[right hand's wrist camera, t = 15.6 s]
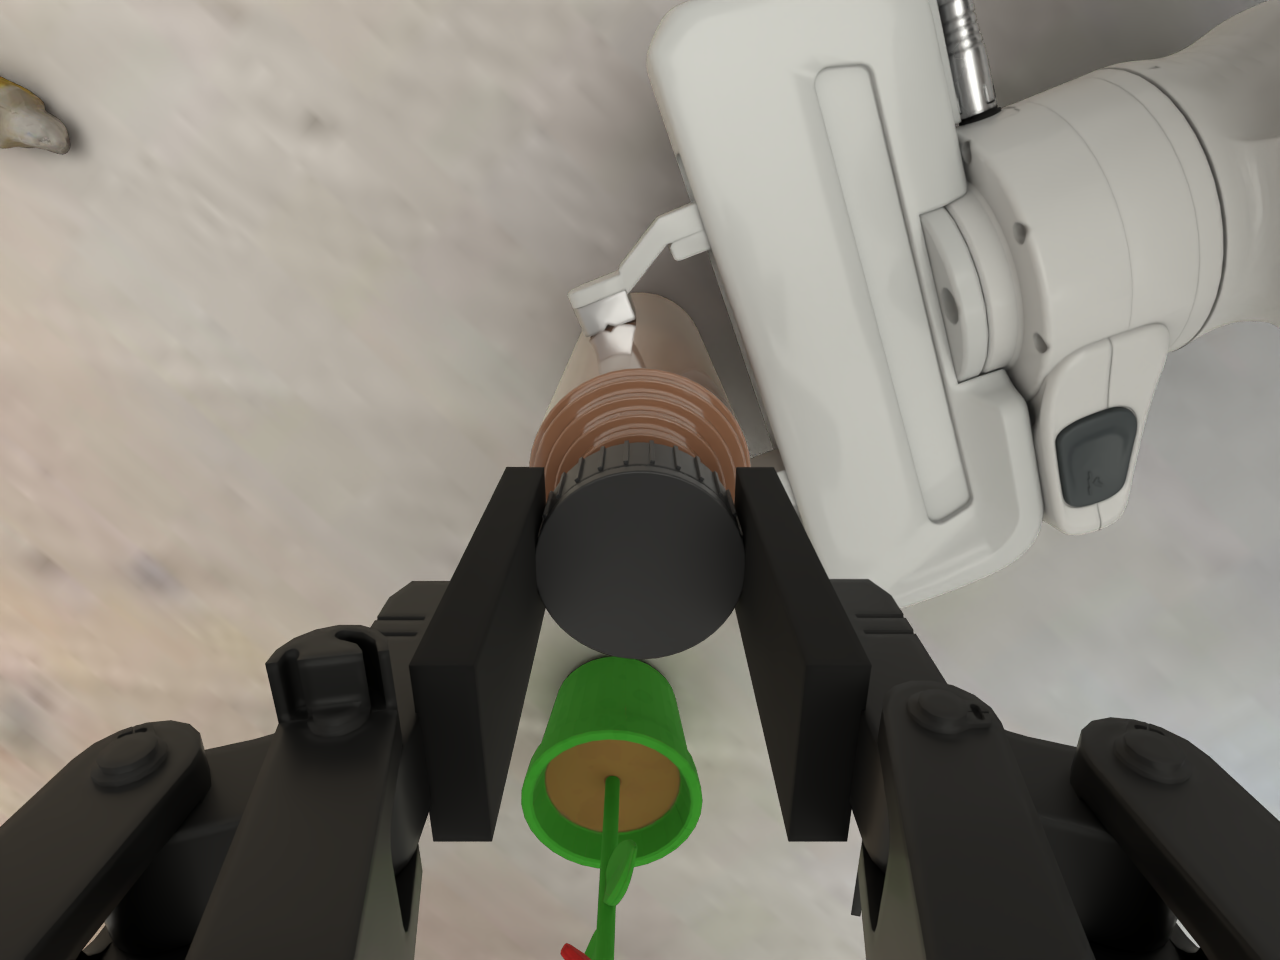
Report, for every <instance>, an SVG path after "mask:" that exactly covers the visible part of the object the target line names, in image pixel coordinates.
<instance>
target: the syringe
mask: <svg viewBox="0 0 1280 960" xmlns="http://www.w3.org/2000/svg"><path fill="white" fill-rule="evenodd" d="M12 147H25V148H34V147H36V148H41V149H46V150H49V151H51V152H54V153H57V154H66V153H67V152H68V150H69V148H70V139H69V136H68V132H67V129H66V127H65V126H64V124H63V123H62V122H61V121H60V120H59V119H58V118H56V117H55V116H53V115H51V114H50V113H48V112H46V111H45V108H44V103H43V101H42V100H41V99H40V98H38V97H37V96H36V95H35V94H33V93H32V92H30V91H29V90H28V89H26V88H24V87H22V86H20V85H17V84H15V83H13V82H11V81H9V80H7V79H5V78H2V77H0V148H12Z"/></svg>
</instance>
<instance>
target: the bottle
mask: <svg viewBox="0 0 1280 960" xmlns="http://www.w3.org/2000/svg"><path fill="white" fill-rule="evenodd" d="M630 296H631V299H632V301H633V304H634V307H635V310H636V314H635V315H636V319H634V320H632V321H629V322H627V323H624V324H621V325H617V326H612V325H607V327H606V328H605V330H604V331H602V332H600V333H598V334H596V335H593V336H590V337H585V335H584V333H583V331H581V334H580V336H579V338H578V341H577V343H576V345H575V347H574V350H573V352H572V354H571V357H570V359H569V361H568V363H567V366H566V368H565V370H564V373H563V375H562V377H561V380H560V382H559V384H558V386H557V389H556V391H555V393H554V396H553V398H552V400H551V402H550V405H549V407H548V409H547V412H546V414H545V416H544V419H543V421H542V423H541V425H540V428H539V430H538V432H537V435H536V437H535V440H534V444H533V447H532V451H531V457H530V463H529V467H544V472H545V491H546V502H547V499H548V496H549V493H550V491H553V492H554V490H555V488H556V487H557V485H558V484H559V482H560V479H561V475H562V474H563V472H565V473H566V474H567V472H568V471H569V470H571V469H572V468H573V467H574V466H575V465H576V464H577V463H578V461H579V458H581V457H583V458H584V459H585V458H586V457H588V456H589V455H591V454H593V453H595V452H597V451H599V450H600V447H602V446H605V448H608V447H611V446H615V445H620V444H624V441H627V440H629V443H636V442H641V443H642V442H645V443H649V441H650V440H653V441H654V443H655V444H661V445H665V446H669V447H672V448H673V446H674V445H675V446H678V450H680V451H683V452H685V453H687V454H689V455H691V456H692V457H694V458H695V457H696V456H698V457H699V458H700V462H701V463H703V464H704V465H705V466H706V467H708V468H709V469H710V470H711V471H712V472H714V471H716V472H717V474H718V477H719V481H720V482H721V483H722V485H723V486H724V488H725V490H727V489H729V491H730V493H731V496H732V499H733V502H734V499H735V480H736V467H751V462H750V455H749V450H748V446H747V443H746V439H745V437H744V434H743V432H742V430H741V428H740V425H739V423H738V421H737V418H736V416H735V414H734V412H733V409H732V407H731V405H730V402H729V400H728V398H727V396H726V393H725V391H724V389H723V386H722V384H721V382H720V380H719V377H718V375H717V373H716V370H715V368H714V366H713V363H712V361H711V359H710V357H709V354H708V352H707V350H706V347H705V345H704V343H703V341H702V338H701V336H700V334H699V331H698V329H697V327H696V325H695V323H694V322H693V320H692V319H691V317H690V316H689V315H688V314H687V313H686V312H685V311H684V310H683V309H682V308H681V307H680V306H679V305H677V304H676V303H674V302H673V301H671V300H669V299H667V298H665V297H662V296H660V295H656V294H652V293H643V292H637V293H630Z"/></svg>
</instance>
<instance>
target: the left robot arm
mask: <svg viewBox="0 0 1280 960" xmlns="http://www.w3.org/2000/svg"><path fill="white" fill-rule="evenodd" d="M974 10H975V6H974V0H689V1H686V2H684V3H682V4H680V5H678V6H676V7H674V8H672V9H671V10H670V11H669V12H668V13H667V14H666V15H665V16H664V17H663V19H662V21H661V22H660V24H659V26H658V28H657V30H656V32H655V34H654V37H653V39H652V41H651V44H650V46H649V49H648V52H647V58H646V66H647V74H648V77H649V80H650V83H651V86H652V89H653V92H654V95H655V98H656V101H657V104H658V107H659V110H660V113H661V116H662V119H663V122H664V125H665V128H666V131H667V134H668V137H669V140H670V143H671V146H672V149H673V152H674V155H675V158H676V161H677V164H678V166H679V169H680V172H681V175H682V178H683V181H684V184H685V187H686V190H687V193H688V196H689V199H690V202H691V203H689V204H686V205H684V206H681V207H679V208H677V209H674V210H672V211H669V212H667V213H665V214H662V215H660V216H657V217H656V219H655V220H654V221H653V222H652V224H651V225H650V226H649V228H648V229H647V230H646V232H645V233H644V234H643V235H642V237H641V238H640V239H639V241H638V242H637V243H636V245H635V246H634V247H633V248H632V250H631V251H630V252H629V254H628V255H627V256H626V258H625V259H624V260H623V262H622V263H621V264H620V266H619V269H618V270H617V271H615V272H612V273H610V274H607V275H605V276H602V277H600V278H597V279H595V280H592V281H590V282H587V283H585V284H582V285H580V286H578V287H576V288H574V289H572V290H571V291H570V292H569V293H568V294H567V295H568V297H569V300H570V303H571V305H572V308H573V310H574V312H575V314H576V317H577V319H578V321H579V324H580V326H581V328H582V331H583V333H584V335H585V337H590V336H593V335H596V334H598V333H600V332H602V331H604V330H605V328H606V327H607V325H612V326H617V325H621V324H624V323H627V322H629V321H632V320H634V319H636V315H635V314H636V310H635V307H634V304H633V301H632V299H631V296H630V293H629V292H630V291H631V290H632V289H633V287H634V286H635V285H636V283H637V282H638V281H639V280H640V278H641V277H642V276H643V275H644V273H645V272H646V271H647V270H648V268H649V267H650V266H651V265H652V263H653V262H654V261H655V259H656V258H657V257H658V256H659V254H660V253H661V252H662V251H663V249H664V248H665V247H666V246H667V244H668V246H669V249H670V252H671V254H672V256H673V258H674V259H675V260H677V261H681V260H683V259H686V258H689V257H691V256H694V255H696V254H699V253H702V252H704V251H707V253H708V256H709V259H710V262H711V265H712V267H713V270H714V273H715V276H716V279H717V282H718V285H719V288H720V291H721V294H722V297H723V300H724V303H725V306H726V309H727V312H728V315H729V318H730V321H731V324H732V327H733V330H734V333H735V336H736V339H737V342H738V345H739V348H740V351H741V354H742V357H743V360H744V363H745V365H746V368H747V371H748V374H749V377H750V380H751V383H752V386H753V389H754V392H755V395H756V398H757V401H758V404H759V407H760V410H761V413H762V416H763V419H764V422H765V425H766V428H767V431H768V434H769V437H770V440H771V443H772V446H773V449H774V450H772V451H769V452H767V453H764V454H761V455H759V456H756V457H753V458H750V462H751V467H774V468H775V470H776V472H777V474H778V476H779V478H780V480H781V482H782V484H783V486H784V488H785V491H786V493H787V495H788V497H789V499H790V501H791V503H792V505H793V507H794V509H795V511H796V513H797V515H798V517H799V519H800V521H801V523H802V525H803V527H804V529H805V531H806V533H807V535H808V537H809V539H810V541H811V543H812V545H813V547H814V549H815V551H816V553H817V555H818V557H819V559H820V561H821V563H822V565H823V567H824V569H825V572H826V574H827V576H828V578H829V579H869V580H871V581H872V582H873V583H875V584H876V585H878V586H879V587H881V588H882V589H883V590H885V591H886V592H888V593H889V594H890V595H892V597H893V599H894V600H895V602H896V603H897V605H898V606H899V608H900V609H902V608H905V607H908V606H911V605H914V604H918V603H920V602H923V601H926V600H929V599H932V598H934V597H937V596H940V595H943V594H945V593H948V592H950V591H953V590H956V589H958V588H961V587H963V586H966V585H968V584H971V583H973V582H975V581H978V580H980V579H982V578H985V577H987V576H989V575H991V574H994V573H996V572H998V571H1000V570H1001V569H1003V568H1005V567H1007V566H1008V565H1010V564H1012V563H1013V562H1014V561H1016V560H1017V559H1018V558H1020V557H1021V556H1022V555H1023V554H1024V553H1025V552H1026V551H1027V550H1028V549H1029V548H1030V547H1031V546H1032V544H1033V543H1034V541H1035V540H1036V538H1037V536H1038V534H1039V532H1040V529H1041V526H1042V521H1045V522H1046V523H1048V524H1050V525H1051V526H1053V527H1054V528H1056V529H1058V530H1059V531H1061V532H1063V533H1065V534H1067V535H1083V534H1087V533H1091V532H1094V531H1098V530H1101V529H1103V528H1106V527H1108V526H1110V525H1112V524H1113V523H1115V522H1116V521H1117V520H1118V519H1119V518H1120V517H1121V516H1122V514H1123V513H1124V510H1125V508H1126V506H1127V503H1128V499H1129V495H1130V491H1131V486H1132V481H1133V476H1134V471H1135V466H1136V462H1137V457H1138V452H1139V448H1140V444H1141V440H1142V435H1143V431H1144V427H1145V424H1146V420H1147V416H1148V413H1149V409H1150V406H1151V403H1152V400H1153V396H1154V393H1155V390H1156V387H1157V384H1158V382H1159V379H1160V376H1161V373H1162V371H1163V368H1164V365H1165V363H1166V359H1167V356H1168V353H1169V352H1173V351H1175V350H1178V349H1180V348H1182V347H1184V346H1185V345H1187V344H1189V343H1190V342H1192V341H1194V340H1195V339H1197V338H1199V337H1201V336H1202V335H1204V334H1206V333H1208V332H1210V331H1212V330H1214V329H1216V328H1219V327H1222V326H1225V325H1228V324H1231V323H1236V322H1245V321H1261V322H1268V323H1271V324H1273V325H1275V326H1277V327H1278V328H1279V329H1280V0H1268V1H1266V2H1263V3H1261V4H1258V5H1256V6H1254V7H1251V8H1249V9H1247V10H1245V11H1242V12H1240V13H1238V14H1236V15H1234V16H1232V17H1231V18H1229V19H1227V20H1226V21H1224V22H1223V23H1221V24H1219V25H1218V26H1216V27H1215V28H1213V29H1212V30H1210V31H1209V32H1208V33H1207V34H1205V35H1204V36H1203V37H1201V38H1200V39H1199V40H1197V41H1196V42H1195V43H1193V44H1192V45H1190V46H1189V47H1187V48H1185V49H1183V50H1181V51H1179V52H1177V53H1174V54H1172V55H1169V56H1166V57H1162V58H1157V59H1151V60H1138V61H1129V62H1122V63H1117V64H1114V65H1110V66H1107V67H1104V68H1101V69H1098V70H1095V71H1092V72H1090V73H1088V74H1086V75H1083V76H1081V77H1078V78H1076V79H1073V80H1071V81H1068V82H1066V83H1064V84H1061V85H1059V86H1056V87H1054V88H1051V89H1049V90H1046V91H1044V92H1041V93H1039V94H1036V95H1034V96H1031V97H1029V98H1026V99H1024V100H1021V101H1019V102H1017V103H1014V104H1011V105H1008V106H1006V107H1003V108H1001V107H1000V108H998V107H997V103H996V96H995V91H994V85H993V82H992V76H991V71H990V66H989V60H988V55H987V51H986V47H985V43H983V42H982V40H983V37H982V34H981V33H979V31H980V28H979V25H978V23H976V21H977V16H976V13H974ZM961 121H962V122H961ZM959 122H960V123H959ZM957 123H959V126H958V127H955V124H957Z"/></svg>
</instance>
